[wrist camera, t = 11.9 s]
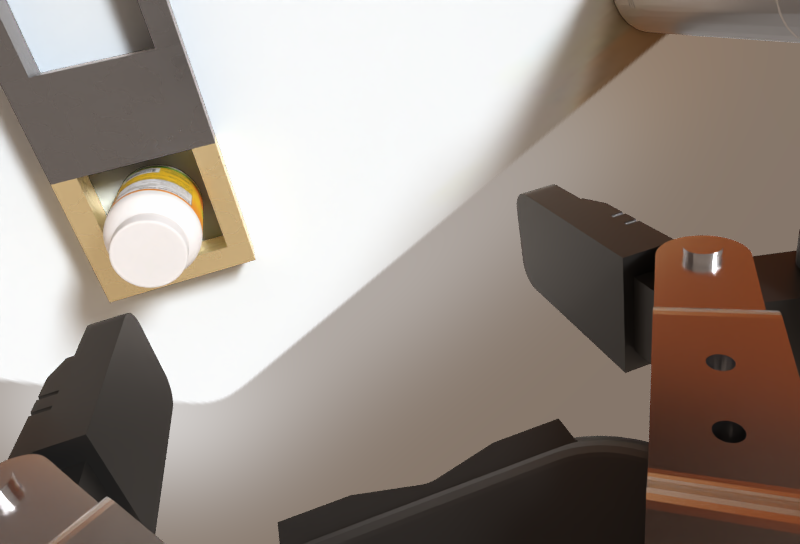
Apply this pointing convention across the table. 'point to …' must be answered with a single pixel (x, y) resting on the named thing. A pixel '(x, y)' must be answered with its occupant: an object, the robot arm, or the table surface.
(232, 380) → the table surface
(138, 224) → the supplement bottle
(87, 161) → the rail
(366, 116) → the table surface
